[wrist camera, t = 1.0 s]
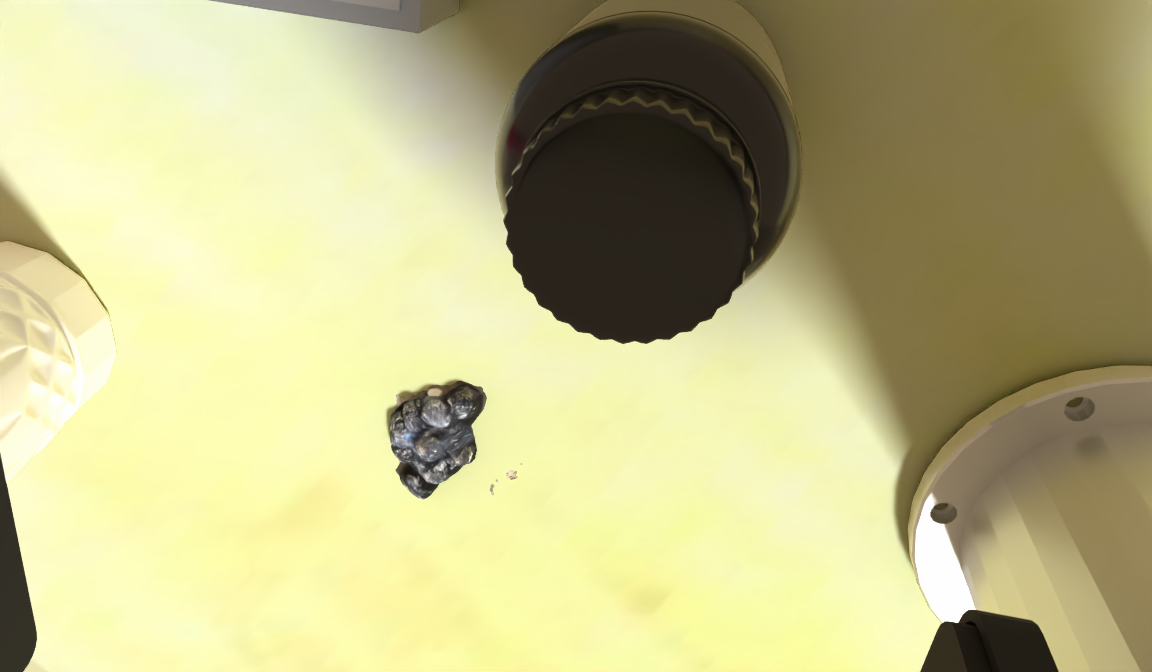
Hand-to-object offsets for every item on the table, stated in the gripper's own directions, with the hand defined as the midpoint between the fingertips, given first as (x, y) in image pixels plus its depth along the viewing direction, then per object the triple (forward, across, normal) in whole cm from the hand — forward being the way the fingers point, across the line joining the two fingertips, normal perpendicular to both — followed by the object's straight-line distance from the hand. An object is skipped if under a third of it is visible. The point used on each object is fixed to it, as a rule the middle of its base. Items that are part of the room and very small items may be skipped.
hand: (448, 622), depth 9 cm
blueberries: (+22, +5, +13) cm, 26 cm away
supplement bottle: (+22, -1, -1) cm, 22 cm away
